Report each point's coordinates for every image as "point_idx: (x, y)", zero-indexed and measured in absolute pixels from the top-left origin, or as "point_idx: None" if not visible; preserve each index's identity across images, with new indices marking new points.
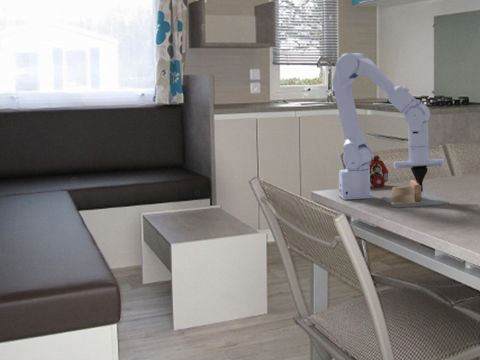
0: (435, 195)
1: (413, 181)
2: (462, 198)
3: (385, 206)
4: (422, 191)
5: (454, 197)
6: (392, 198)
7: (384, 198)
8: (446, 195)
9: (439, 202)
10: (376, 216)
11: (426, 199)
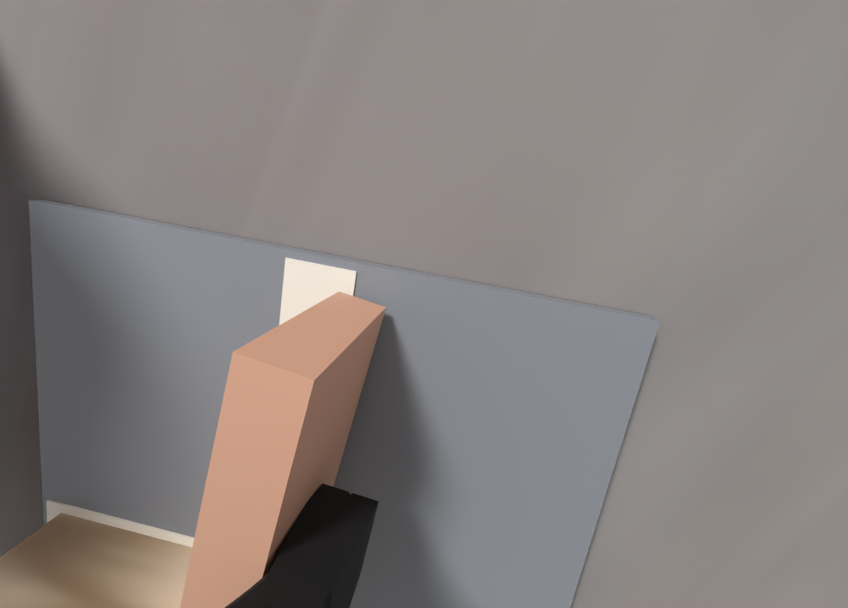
0: (627, 408)
1: (242, 499)
2: (839, 599)
3: (9, 535)
4: (357, 580)
5: (805, 513)
6: (21, 541)
7: (39, 288)
8: (817, 365)
9: None
10: None
11: (407, 546)
